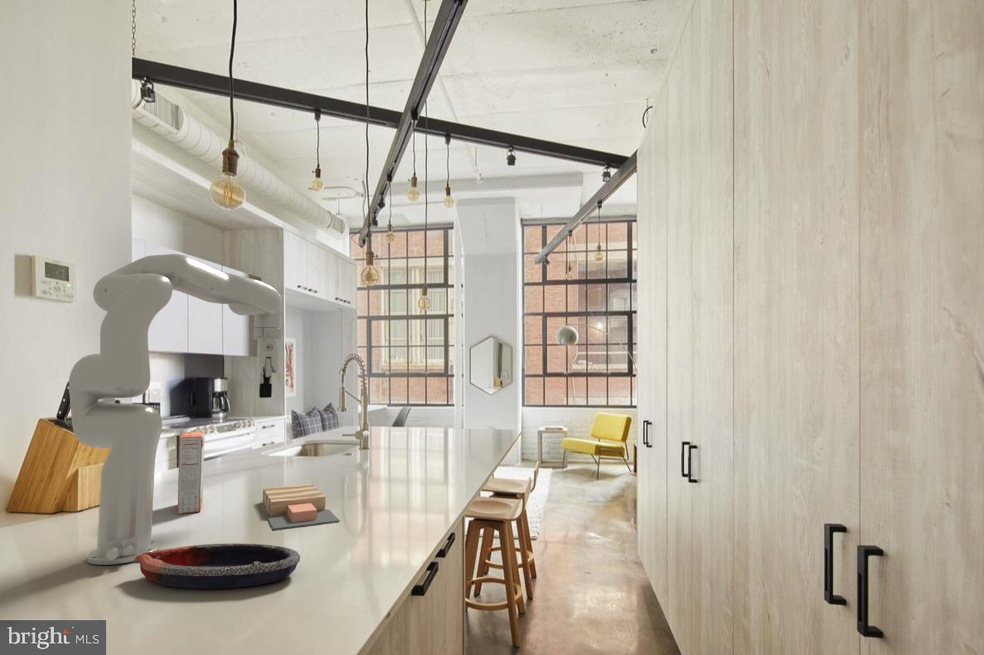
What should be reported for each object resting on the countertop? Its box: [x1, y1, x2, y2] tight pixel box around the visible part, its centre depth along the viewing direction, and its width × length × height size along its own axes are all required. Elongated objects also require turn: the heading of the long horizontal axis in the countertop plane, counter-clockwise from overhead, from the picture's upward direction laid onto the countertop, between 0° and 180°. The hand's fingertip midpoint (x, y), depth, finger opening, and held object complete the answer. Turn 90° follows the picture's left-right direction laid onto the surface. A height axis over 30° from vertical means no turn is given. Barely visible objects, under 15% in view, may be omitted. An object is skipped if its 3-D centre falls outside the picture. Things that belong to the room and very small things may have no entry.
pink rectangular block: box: [287, 503, 317, 522], centre depth 146 cm, size 9×6×2 cm, turn 29°
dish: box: [134, 542, 301, 590], centre depth 104 cm, size 16×31×5 cm, turn 86°
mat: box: [266, 509, 341, 531], centre depth 144 cm, size 13×16×1 cm
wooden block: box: [262, 483, 326, 516], centre depth 159 cm, size 20×14×4 cm
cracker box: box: [177, 430, 206, 515], centre depth 158 cm, size 14×6×21 cm, turn 25°
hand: (265, 397), depth 161 cm, fingers closed
